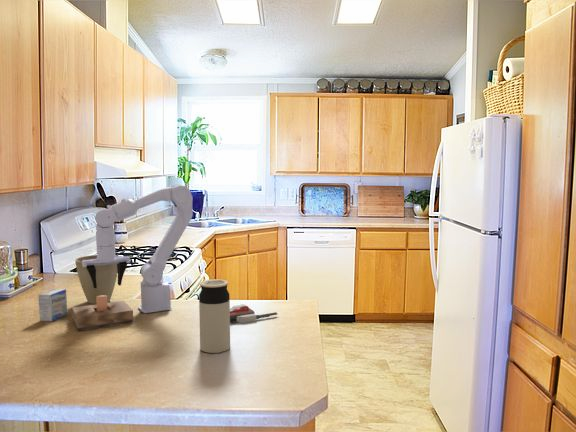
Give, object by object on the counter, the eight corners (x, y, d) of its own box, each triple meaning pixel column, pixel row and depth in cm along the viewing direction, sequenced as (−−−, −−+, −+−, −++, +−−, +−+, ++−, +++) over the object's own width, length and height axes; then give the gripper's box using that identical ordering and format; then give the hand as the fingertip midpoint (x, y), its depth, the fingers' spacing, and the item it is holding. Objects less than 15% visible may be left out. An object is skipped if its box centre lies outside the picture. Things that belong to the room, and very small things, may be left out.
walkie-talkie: (220, 328, 148) (278, 318, 158) (220, 314, 148) (278, 305, 157) (210, 320, 156) (266, 311, 165) (210, 307, 155) (266, 298, 165)
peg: (109, 316, 156) (108, 294, 155) (106, 319, 153) (105, 297, 152) (98, 316, 155) (97, 295, 155) (95, 319, 152) (94, 297, 152)
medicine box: (51, 322, 154) (50, 295, 153) (39, 321, 154) (37, 294, 154) (67, 314, 161) (66, 288, 160) (55, 313, 162) (54, 288, 161)
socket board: (124, 312, 164) (123, 300, 163) (133, 322, 152) (132, 310, 152) (72, 319, 156) (72, 307, 155) (77, 331, 144) (77, 318, 144)
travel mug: (236, 347, 131) (235, 282, 129) (213, 356, 125) (212, 287, 123) (217, 340, 136) (216, 277, 134) (194, 348, 130) (192, 282, 129)
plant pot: (68, 306, 171) (66, 261, 170) (92, 295, 186) (90, 254, 184) (107, 308, 168) (105, 262, 167) (128, 297, 183) (127, 255, 182)
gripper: (126, 242, 166) (127, 281, 168) (80, 245, 159) (82, 286, 160) (130, 244, 160) (132, 285, 162) (83, 248, 153) (85, 291, 154)
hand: (107, 286), depth 161 cm, fingers open, 7 cm apart
